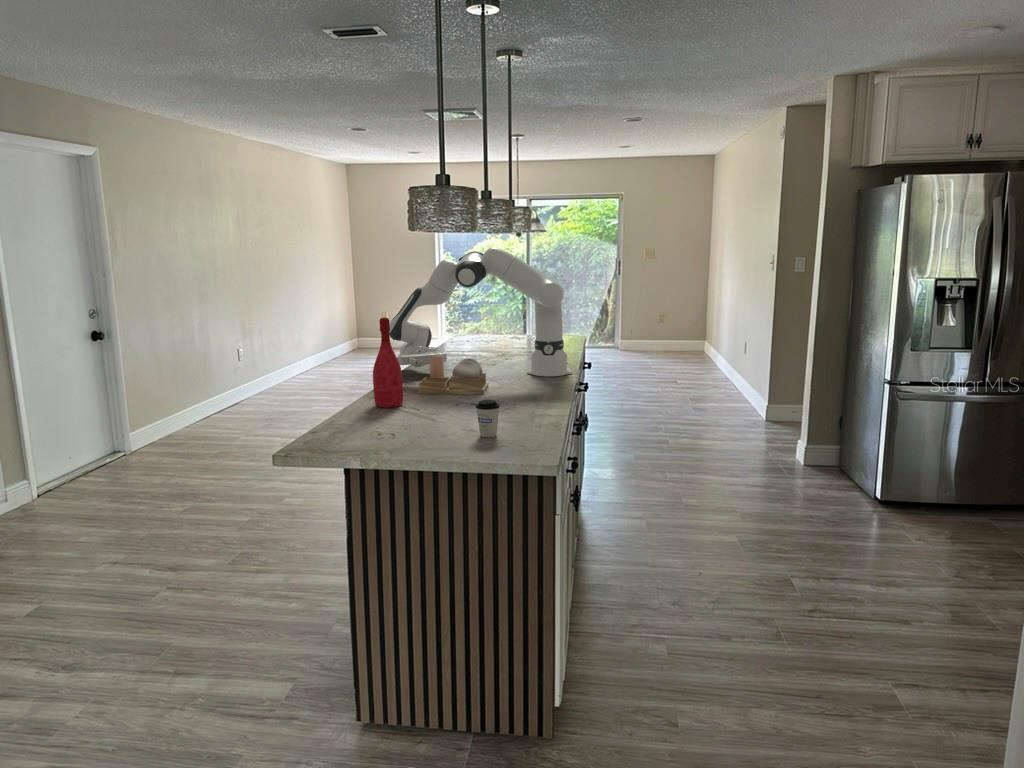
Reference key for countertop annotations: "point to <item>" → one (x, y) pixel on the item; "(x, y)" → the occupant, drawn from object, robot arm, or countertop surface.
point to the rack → (457, 380)
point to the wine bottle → (387, 372)
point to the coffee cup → (488, 417)
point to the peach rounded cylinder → (436, 365)
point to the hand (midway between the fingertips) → (427, 361)
